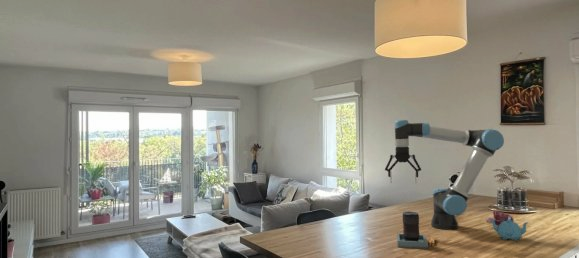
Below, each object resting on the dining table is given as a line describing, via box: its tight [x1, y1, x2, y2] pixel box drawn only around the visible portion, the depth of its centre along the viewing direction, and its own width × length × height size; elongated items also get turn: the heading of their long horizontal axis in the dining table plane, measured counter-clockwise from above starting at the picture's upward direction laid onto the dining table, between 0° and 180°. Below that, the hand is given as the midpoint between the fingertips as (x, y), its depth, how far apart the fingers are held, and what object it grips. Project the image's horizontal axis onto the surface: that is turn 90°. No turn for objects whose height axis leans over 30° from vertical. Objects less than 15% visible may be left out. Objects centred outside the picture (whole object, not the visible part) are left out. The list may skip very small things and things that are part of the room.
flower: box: [485, 210, 515, 227], centre depth 209 cm, size 15×15×10 cm
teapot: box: [490, 217, 530, 242], centre depth 187 cm, size 13×13×10 cm
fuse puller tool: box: [429, 236, 436, 246], centre depth 184 cm, size 10×2×2 cm, turn 154°
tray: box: [396, 233, 429, 250], centre depth 183 cm, size 14×14×3 cm
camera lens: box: [402, 211, 420, 241], centre depth 183 cm, size 8×8×15 cm
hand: (403, 182), depth 205 cm, fingers open, 13 cm apart
